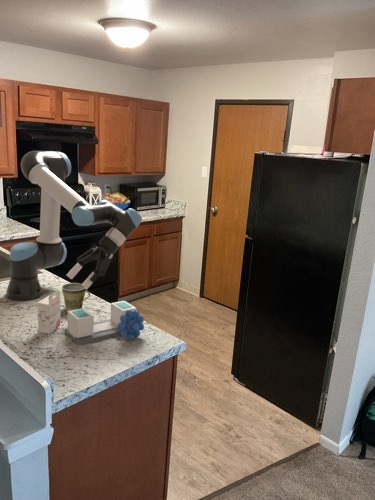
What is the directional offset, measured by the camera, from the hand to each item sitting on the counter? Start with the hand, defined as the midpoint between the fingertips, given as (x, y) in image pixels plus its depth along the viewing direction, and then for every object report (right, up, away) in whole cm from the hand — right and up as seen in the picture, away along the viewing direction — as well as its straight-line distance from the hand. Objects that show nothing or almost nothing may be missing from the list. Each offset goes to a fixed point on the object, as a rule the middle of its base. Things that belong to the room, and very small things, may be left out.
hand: (76, 282), depth 163 cm
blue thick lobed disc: (+22, -21, -7) cm, 32 cm away
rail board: (+10, -19, -2) cm, 22 cm away
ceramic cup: (-5, -13, +18) cm, 23 cm away
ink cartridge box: (-10, -18, -3) cm, 20 cm away
